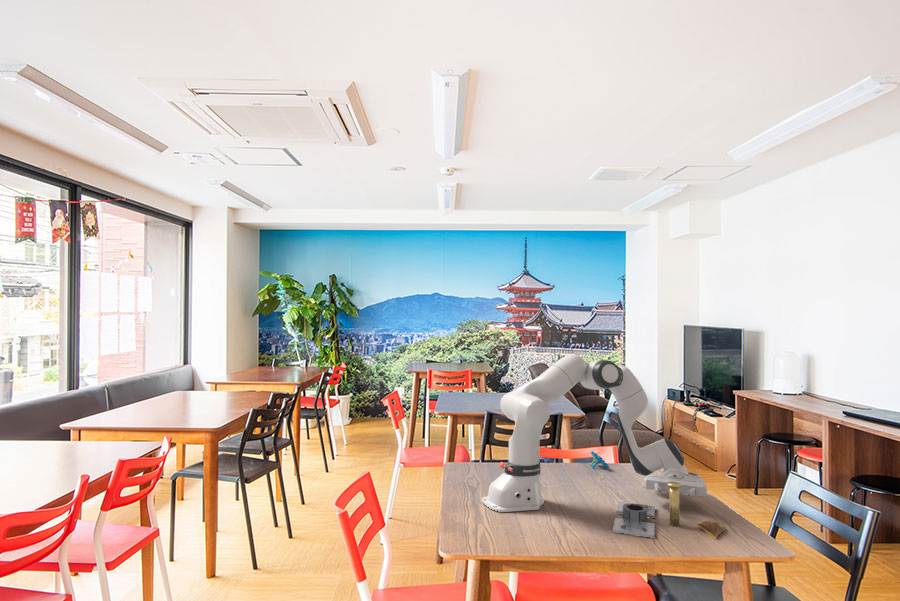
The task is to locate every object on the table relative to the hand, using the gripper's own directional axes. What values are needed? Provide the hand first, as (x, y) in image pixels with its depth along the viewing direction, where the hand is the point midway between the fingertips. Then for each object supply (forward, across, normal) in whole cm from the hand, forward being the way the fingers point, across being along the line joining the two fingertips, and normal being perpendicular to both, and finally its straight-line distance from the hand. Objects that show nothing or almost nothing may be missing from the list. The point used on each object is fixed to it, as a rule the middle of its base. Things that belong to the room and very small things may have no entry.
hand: (674, 491), depth 172 cm
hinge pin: (+10, 0, +8) cm, 12 cm away
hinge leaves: (+11, -12, +8) cm, 18 cm away
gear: (-48, -32, +8) cm, 58 cm away
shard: (+9, +12, +8) cm, 17 cm away
